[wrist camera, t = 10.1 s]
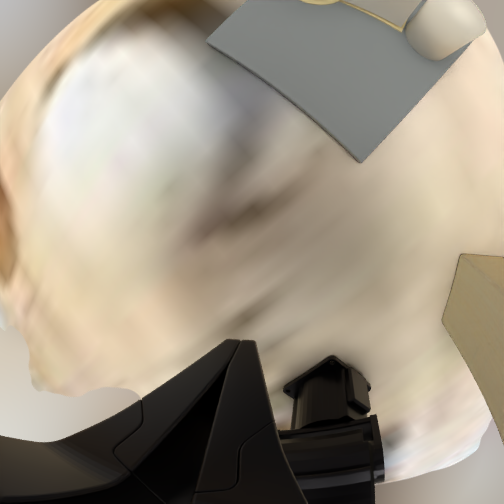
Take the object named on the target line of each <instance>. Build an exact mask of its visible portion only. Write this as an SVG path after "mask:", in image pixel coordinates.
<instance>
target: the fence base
mask: <svg viewBox="0 0 504 504" xmlns="http://www.w3.org/2000/svg"><path fill="white" fill-rule="evenodd" d="M485 32H486V22H485V19H484V16H483V14H482V13H481V11H480V10H479V8H478V7H477V6H476V4H474V2H473V1H472V0H427V1H426V2H425V3H424V5H423V6H422V7H421V8H420V10H419V11H418V12H417V13H416V15H415V16H414V17H413V18H412V19H411V21H410V22H409V23H408V24H407V26H406V29H405V34H406V38H407V40H408V42H409V44H410V45H411V46H412V48H413V49H414V50H415V51H416V52H417V53H419V54H420V55H421V56H423V57H425V58H427V59H429V60H433V61H439V60H442V59H444V58H445V57H447V56H448V55H450V54H452V53H453V52H455V51H456V50H458V49H460V48H461V47H463V46H464V45H466V44H468V43H469V42H471V41H473V40H474V39H476V38H478V37H479V36H481V35H483V34H484V33H485Z"/></svg>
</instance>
